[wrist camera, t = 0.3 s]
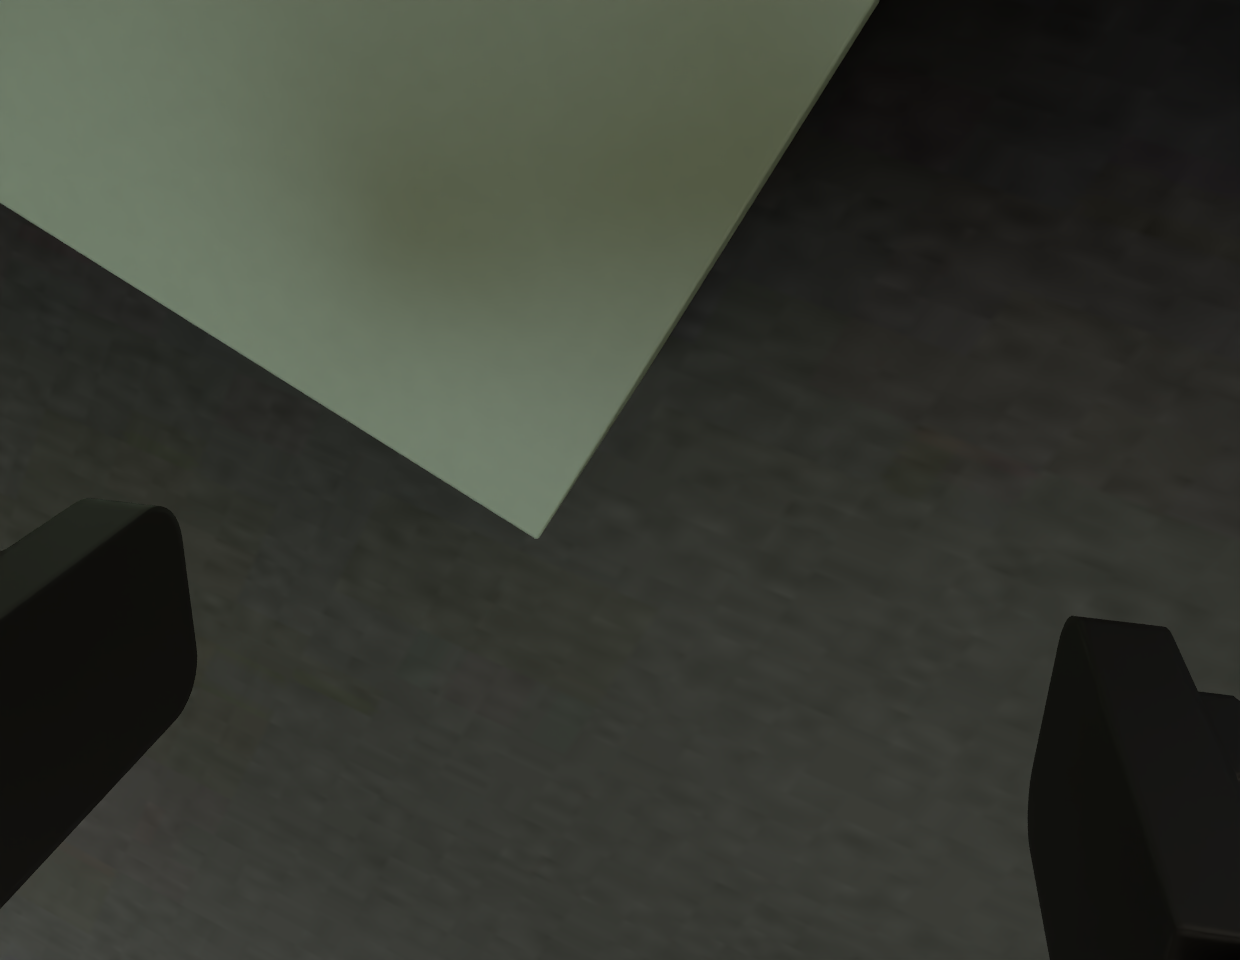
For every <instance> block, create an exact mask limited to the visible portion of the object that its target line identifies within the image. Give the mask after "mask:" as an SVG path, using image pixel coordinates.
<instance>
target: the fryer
mask: <svg viewBox="0 0 1240 960" xmlns="http://www.w3.org/2000/svg"><path fill="white" fill-rule="evenodd" d="M879 1H880V0H0V203H1V204H3V205H5V206H6V207H8V208H9V209H11V210H12V211H14V212H16V213H17V214H19V215H20V216H22V217H24V218H25V219H27V220H28V221H30V222H32V223H33V224H35V225H36V226H38V227H40V228H41V229H43V230H44V231H46V232H48V233H49V234H51V235H52V236H54V237H56V238H57V239H59V240H60V241H62V242H63V243H65V244H67V245H68V246H70V247H71V248H73V249H75V250H76V251H78V252H79V253H81V254H83V255H84V256H86V257H87V258H89V259H91V260H92V261H94V262H95V263H97V264H99V265H100V266H102V267H103V268H105V269H107V270H108V271H110V272H111V273H113V274H114V275H116V276H118V277H119V278H121V279H122V280H124V281H126V282H127V283H129V284H130V285H132V286H134V287H135V288H137V289H138V290H140V291H142V292H143V293H145V294H146V295H148V296H150V297H151V298H153V299H154V300H156V301H158V302H159V303H161V304H162V305H164V306H165V307H167V308H169V309H170V310H172V311H173V312H175V313H177V314H178V315H180V316H181V317H183V318H185V319H186V320H188V321H189V322H191V323H193V324H194V325H196V326H197V327H199V328H201V329H202V330H204V331H205V332H207V333H209V334H210V335H212V336H213V337H215V338H216V339H218V340H220V341H221V342H223V343H224V344H226V345H228V346H229V347H231V348H232V349H234V350H236V351H237V352H239V353H240V354H242V355H244V356H245V357H247V358H248V359H250V360H252V361H253V362H255V363H256V364H258V365H259V366H261V367H263V368H264V369H266V370H267V371H269V372H271V373H272V374H274V375H275V376H277V377H279V378H280V379H282V380H283V381H285V382H287V383H288V384H290V385H291V386H293V387H295V388H296V389H298V390H299V391H301V392H303V393H304V394H306V395H307V396H309V397H310V398H312V399H314V400H315V401H317V402H318V403H320V404H322V405H323V406H325V407H326V408H328V409H330V410H331V411H333V412H334V413H336V414H338V415H339V416H341V417H342V418H344V419H346V420H347V421H349V422H350V423H352V424H354V425H355V426H357V427H358V428H360V429H361V430H363V431H365V432H366V433H368V434H369V435H371V436H373V437H374V438H376V439H377V440H379V441H381V442H382V443H384V444H385V445H387V446H389V447H390V448H392V449H393V450H395V451H397V452H398V453H400V454H401V455H403V456H405V457H406V458H408V459H409V460H411V461H412V462H414V463H416V464H417V465H419V466H420V467H422V468H424V469H425V470H427V471H428V472H430V473H432V474H433V475H435V476H436V477H438V478H440V479H441V480H443V481H444V482H446V483H448V484H449V485H451V486H452V487H454V488H456V489H457V490H459V491H460V492H462V493H463V494H465V495H467V496H468V497H470V498H471V499H473V500H475V501H476V502H478V503H479V504H481V505H483V506H484V507H486V508H487V509H489V510H491V511H492V512H494V513H495V514H497V515H499V516H500V517H502V518H503V519H505V520H506V521H508V522H510V523H511V524H513V525H514V526H516V527H518V528H519V529H521V530H522V531H524V532H526V533H527V534H529V535H530V536H532V537H534V538H536V539H538V538H539V537H540V536H541V535H542V533H543V531H544V530H545V528H546V527H547V525H548V524H549V522H550V521H551V519H552V518H553V516H554V514H555V513H556V511H557V510H558V508H559V507H560V505H561V504H562V502H563V501H564V499H565V497H566V496H567V494H568V493H569V491H570V490H571V488H572V487H573V485H574V484H575V482H576V480H577V479H578V477H579V476H580V474H581V473H582V471H583V470H584V468H585V467H586V465H587V463H588V462H589V460H590V459H591V457H592V456H593V454H594V453H595V451H596V450H597V448H598V446H599V445H600V443H601V442H602V440H603V439H604V437H605V436H606V434H607V433H608V431H609V429H610V428H611V426H612V425H613V423H614V422H615V420H616V419H617V417H618V416H619V414H620V412H621V411H622V409H623V408H624V406H625V405H626V403H627V402H628V400H629V399H630V397H631V395H632V394H633V392H634V391H635V389H636V388H637V386H638V385H639V383H640V382H641V380H642V378H643V377H644V375H645V374H646V372H647V371H648V369H649V368H650V366H651V364H652V363H653V361H654V360H655V358H656V356H657V355H658V353H659V352H660V350H661V348H662V347H663V345H664V344H665V342H666V341H667V339H668V337H669V336H670V334H671V333H672V331H673V329H674V328H675V326H676V325H677V323H678V321H679V320H680V318H681V317H682V315H683V313H684V312H685V310H686V309H687V307H688V305H689V304H690V302H691V301H692V299H693V297H694V296H695V294H696V293H697V291H698V290H699V288H700V286H701V285H702V283H703V282H704V280H705V278H706V277H707V275H708V274H709V272H710V270H711V269H712V267H713V266H714V264H715V262H716V261H717V259H718V258H719V256H720V254H721V253H722V251H723V250H724V248H725V246H726V245H727V243H728V242H729V240H730V239H731V237H732V235H733V234H734V232H735V231H736V229H737V227H738V226H739V224H740V223H741V221H742V219H743V218H744V216H745V215H746V213H747V211H748V210H749V208H750V207H751V205H752V203H753V202H754V200H755V199H756V197H757V195H758V194H759V192H760V191H761V189H762V188H763V186H764V184H765V183H766V181H767V180H768V178H769V176H770V175H771V173H772V172H773V170H774V168H775V167H776V165H777V164H778V162H779V160H780V159H781V157H782V156H783V154H784V152H785V151H786V149H787V148H788V146H789V144H790V143H791V141H792V140H793V138H794V137H795V135H796V133H797V132H798V130H799V129H800V127H801V125H802V124H803V122H804V121H805V119H806V117H807V116H808V114H809V113H810V111H811V109H812V108H813V106H814V105H815V103H816V101H817V100H818V98H819V97H820V95H821V93H822V92H823V90H824V89H825V87H826V86H827V84H828V82H829V81H830V79H831V78H832V76H833V74H834V73H835V71H836V70H837V68H838V66H839V65H840V63H841V62H842V60H843V58H844V57H845V55H846V54H847V52H848V50H849V49H850V47H851V46H852V44H853V42H854V41H855V39H856V38H857V36H858V35H859V33H860V31H861V30H862V28H863V27H864V25H865V23H866V22H867V20H868V19H869V17H870V15H871V14H872V12H873V11H874V9H875V7H876V6H877V4H878V3H879Z"/></svg>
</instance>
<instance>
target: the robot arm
mask: <svg viewBox="0 0 1240 960" xmlns="http://www.w3.org/2000/svg"><path fill="white" fill-rule="evenodd" d="M196 667H197V649H196V641H195V633H194V626H193V618H192V610H191V603H190V595H189V587H188V580H187V572H186V564H185V557H184V549H183V541H182V535H181V530H180V527H179V524H178V521H177V519H176V517H175V516H174V515H173V513H172V512H171V511H170V510H168V509H167V508H164V507H161V506H153V505H144V504H136V503H127V502H119V501H110V500H102V499H93V498H87V499H82V500H80V501H78V502H76V503H75V504H73V505H72V506H70V507H69V508H67V509H66V510H64V511H63V512H61V513H60V514H58V515H57V516H55V517H54V518H52V519H51V520H49V521H48V522H46V523H45V524H43V525H42V526H40V527H39V528H37V529H36V530H34V531H33V532H31V533H30V534H28V535H27V536H25V537H24V538H22V539H21V540H19V541H18V542H16V543H15V544H13V545H12V546H10V547H9V548H7V549H5V550H3V551H0V909H1V907H2V906H3V905H4V904H5V903H6V902H7V901H8V900H9V899H10V898H11V897H12V896H13V895H14V893H15V892H16V891H17V890H18V889H19V888H20V887H21V886H22V885H23V884H24V883H25V882H26V881H27V879H28V878H29V877H30V876H31V875H32V874H33V873H34V872H35V871H36V870H37V869H38V868H39V867H40V865H41V864H42V863H43V862H44V861H45V860H46V859H47V858H48V857H49V856H50V855H51V854H52V853H53V851H54V850H55V849H56V848H57V847H58V846H59V845H60V844H61V843H62V842H63V841H64V840H65V839H66V837H67V836H68V835H69V834H70V833H71V832H72V831H73V830H74V829H75V828H76V827H77V826H78V825H79V823H80V822H81V821H82V820H83V819H84V818H85V817H86V816H87V815H88V814H89V813H90V812H91V811H92V809H93V808H94V807H95V806H96V805H97V804H98V803H99V802H100V801H101V800H102V799H103V798H104V797H105V795H106V794H107V793H108V792H109V791H110V790H111V789H112V788H113V787H114V786H115V785H116V784H117V783H118V781H119V780H120V779H121V778H122V777H123V776H124V775H125V774H126V773H127V772H128V771H129V770H130V769H131V767H132V766H133V765H134V764H135V763H136V762H137V761H138V760H139V759H140V758H141V757H142V756H143V755H144V753H145V752H146V751H147V750H148V749H149V748H150V747H151V746H152V745H153V744H154V743H155V742H156V741H157V739H158V738H159V737H160V736H161V735H162V734H163V733H164V732H165V731H166V730H167V729H168V728H169V727H170V725H171V724H172V723H173V722H174V721H175V720H176V719H177V718H178V716H179V715H180V714H181V712H182V710H183V709H184V707H185V705H186V703H187V701H188V699H189V696H190V694H191V691H192V688H193V684H194V680H195V675H196ZM1028 837H1029V847H1030V853H1031V858H1032V864H1033V869H1034V875H1035V880H1036V886H1037V891H1038V897H1039V902H1040V908H1041V913H1042V919H1043V924H1044V930H1045V935H1046V941H1047V946H1048V952H1049V957H1050V960H1240V701H1239V700H1238V699H1237V698H1235V697H1234V696H1230V695H1222V694H1214V693H1206V692H1198V691H1197V688H1196V686H1195V684H1194V682H1193V680H1192V677H1191V675H1190V673H1189V671H1188V669H1187V667H1186V664H1185V662H1184V660H1183V658H1182V656H1181V653H1180V651H1179V649H1178V647H1177V645H1176V642H1175V640H1174V638H1173V636H1172V634H1171V632H1170V631H1169V630H1168V629H1167V628H1166V627H1162V626H1154V625H1145V624H1137V623H1128V622H1120V621H1111V620H1103V619H1094V618H1086V617H1077V616H1071V617H1069V618H1068V619H1067V621H1066V623H1065V624H1064V627H1063V630H1062V632H1061V636H1060V639H1059V644H1058V648H1057V653H1056V658H1055V662H1054V667H1053V672H1052V677H1051V682H1050V686H1049V691H1048V696H1047V701H1046V706H1045V710H1044V715H1043V720H1042V725H1041V730H1040V734H1039V739H1038V744H1037V749H1036V753H1035V758H1034V763H1033V768H1032V774H1031V780H1030V788H1029V800H1028Z"/></svg>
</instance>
